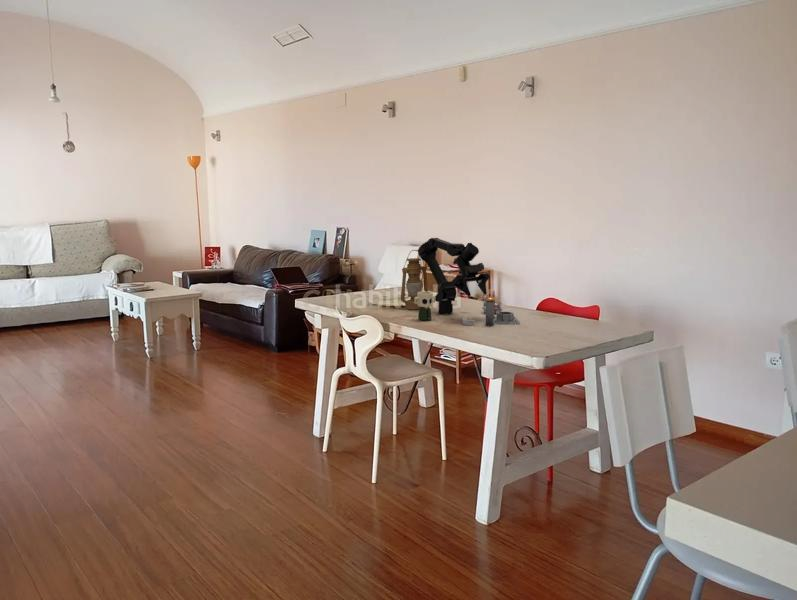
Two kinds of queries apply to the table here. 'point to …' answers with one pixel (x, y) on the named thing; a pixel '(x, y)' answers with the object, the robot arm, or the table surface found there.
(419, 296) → the big-eyed figurine
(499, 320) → the silver bolted socket base
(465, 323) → the loose bracket
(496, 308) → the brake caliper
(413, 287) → the lantern
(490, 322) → the copper-capped metal post
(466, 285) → the robot arm
